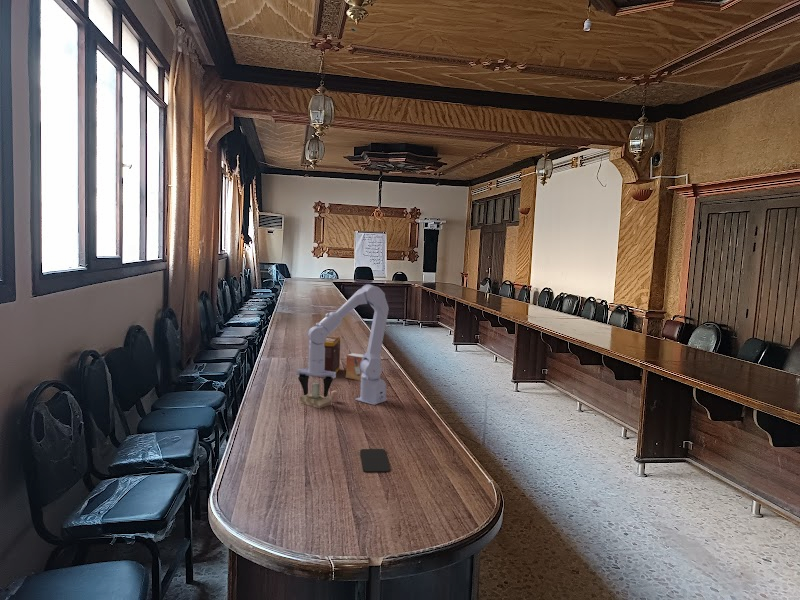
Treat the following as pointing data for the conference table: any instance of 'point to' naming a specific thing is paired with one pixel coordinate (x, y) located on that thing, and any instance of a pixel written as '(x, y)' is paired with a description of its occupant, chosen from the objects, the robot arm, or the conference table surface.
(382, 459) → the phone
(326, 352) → the supplement box
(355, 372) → the small box
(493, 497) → the conference table surface
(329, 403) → the hole plate
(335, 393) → the short pin
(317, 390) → the long pin
